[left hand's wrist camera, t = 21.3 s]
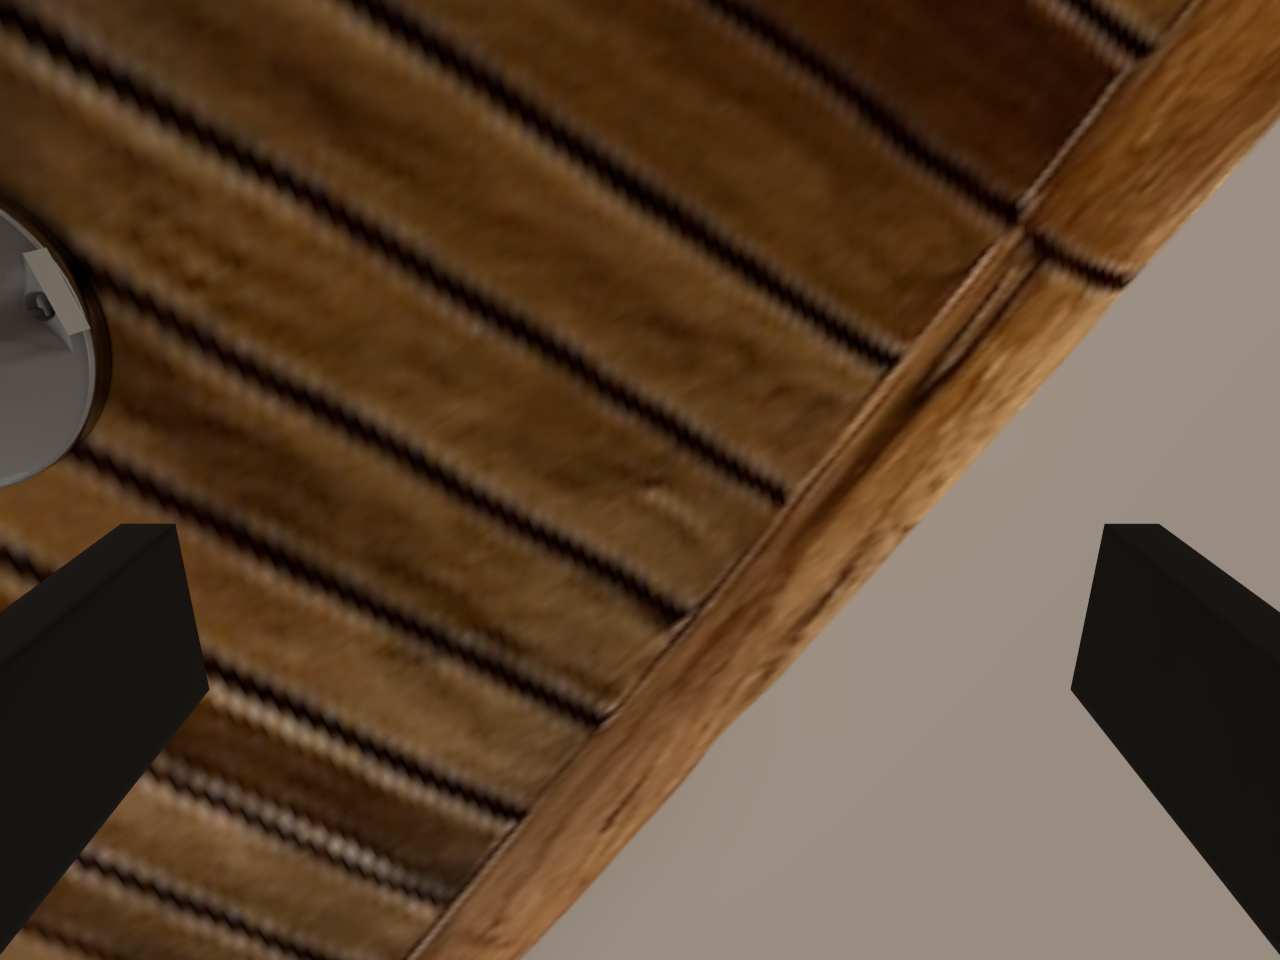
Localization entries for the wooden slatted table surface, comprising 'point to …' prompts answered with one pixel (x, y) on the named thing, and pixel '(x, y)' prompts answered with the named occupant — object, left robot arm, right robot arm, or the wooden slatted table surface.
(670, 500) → the wooden slatted table surface
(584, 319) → the wooden slatted table surface
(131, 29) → the wooden slatted table surface
